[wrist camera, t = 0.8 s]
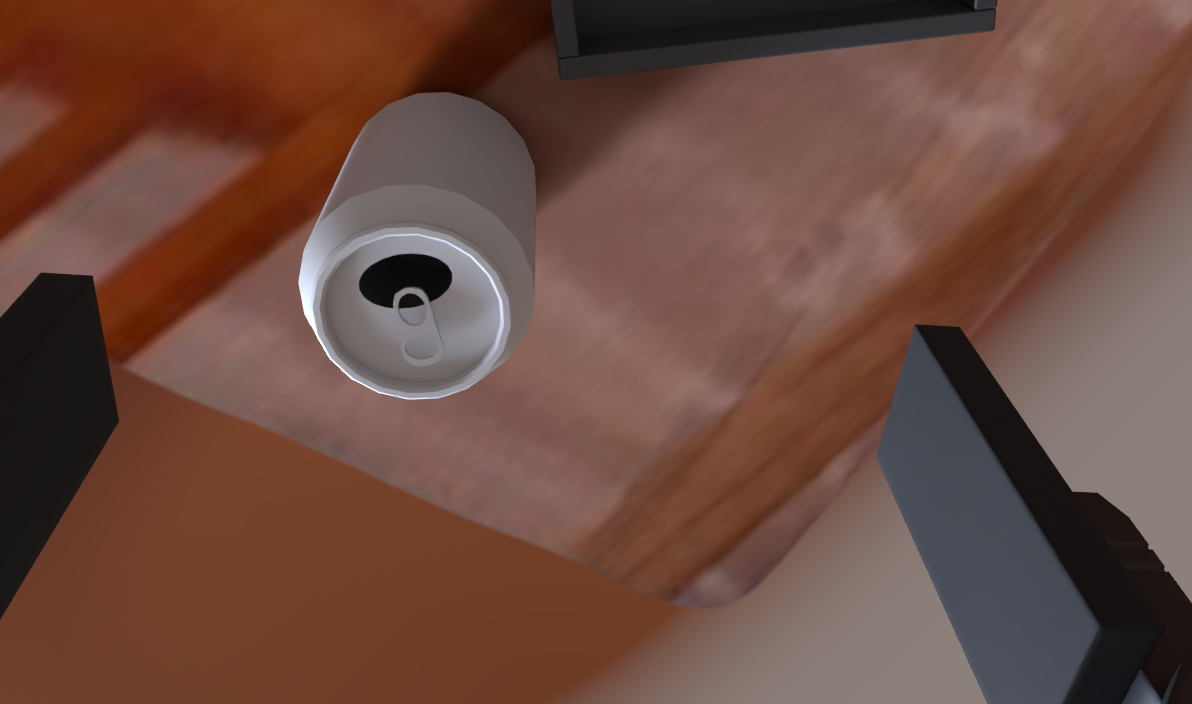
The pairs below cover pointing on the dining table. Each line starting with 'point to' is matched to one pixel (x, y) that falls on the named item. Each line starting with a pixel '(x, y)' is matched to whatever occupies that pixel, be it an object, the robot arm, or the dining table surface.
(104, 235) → the dining table surface
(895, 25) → the tray
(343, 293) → the can
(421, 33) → the dining table surface
